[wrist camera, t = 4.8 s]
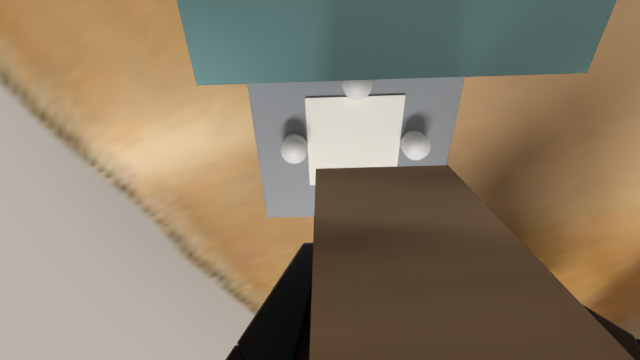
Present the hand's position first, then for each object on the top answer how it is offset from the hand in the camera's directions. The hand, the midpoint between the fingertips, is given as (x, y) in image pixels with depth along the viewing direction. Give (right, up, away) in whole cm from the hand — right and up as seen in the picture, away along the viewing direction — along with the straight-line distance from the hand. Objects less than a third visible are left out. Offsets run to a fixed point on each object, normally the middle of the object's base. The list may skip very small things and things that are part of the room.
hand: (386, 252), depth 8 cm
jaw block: (0, +1, +1) cm, 2 cm away
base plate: (0, +8, +7) cm, 10 cm away
